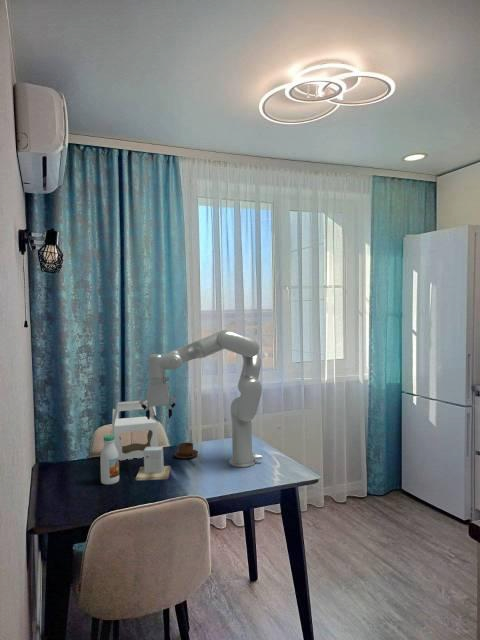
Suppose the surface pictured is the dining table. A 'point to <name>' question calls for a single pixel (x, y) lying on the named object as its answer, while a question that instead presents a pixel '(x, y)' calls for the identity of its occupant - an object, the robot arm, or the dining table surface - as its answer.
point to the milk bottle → (109, 461)
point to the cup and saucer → (186, 451)
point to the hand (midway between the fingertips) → (159, 418)
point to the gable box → (134, 429)
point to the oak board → (153, 474)
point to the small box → (153, 459)
